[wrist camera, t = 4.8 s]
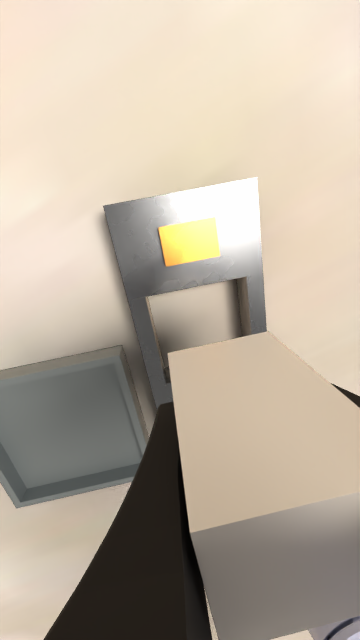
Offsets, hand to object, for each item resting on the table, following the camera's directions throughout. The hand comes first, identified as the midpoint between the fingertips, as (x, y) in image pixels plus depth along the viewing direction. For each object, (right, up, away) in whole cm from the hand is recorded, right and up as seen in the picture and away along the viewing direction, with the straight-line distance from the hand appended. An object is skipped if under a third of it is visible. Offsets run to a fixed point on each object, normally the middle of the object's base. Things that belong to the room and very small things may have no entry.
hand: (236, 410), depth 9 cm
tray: (-10, -5, +10) cm, 15 cm away
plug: (0, +1, +1) cm, 2 cm away
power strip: (0, -1, +10) cm, 10 cm away
